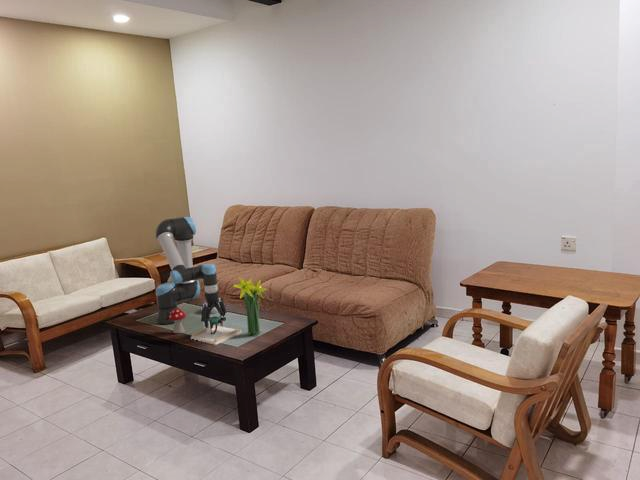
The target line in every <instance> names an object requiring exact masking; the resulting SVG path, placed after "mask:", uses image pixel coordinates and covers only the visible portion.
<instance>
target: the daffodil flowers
mask: <svg viewBox="0 0 640 480" xmlns="http://www.w3.org/2000/svg"><path fill="white" fill-rule="evenodd" d="M238 279H239V281H240V283H238V284H233V285H232V287H234V288H237V289H240V290H241V291H240V294H239V295H240V296H239V299H242V298H243V299H244V305H245V310H246V317H247V318H246V321H247V332H248V333H247V334H248V336H250V335H253V336H255V335H256V334H258V335H260V334H261V330H260V329H261V328H260V322H259V321H260V320H259V310H260V309H259V308H260V307H259V306H260V300H261V298H262V299H265V297H264V295H263V292H265V291H267V290H268V288H266V287H265V288H264V287H262V286H261V283H262V280H261V279H259V280H258V282H256V283H257V284H256V285H255V284H254V283H253V278H252V277H251V278H249V279H248V280H247V281H246V282H245V280H244V279H243V278H242V277H240V276H238ZM258 296H259V297H258Z"/></svg>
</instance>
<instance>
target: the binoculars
mask: <svg viewBox="0 0 640 480" xmlns="http://www.w3.org/2000/svg"><path fill="white" fill-rule="evenodd" d="M226 319H227V318H226V317H225V316H224V317H223V318H222V317H219V316H210V317H209V320H208V321H209V322H210V330H211V329H212V328H213V325H216V328H215V331H214V333H212V332H211V334H215V332H216V330H217V326H219V325H220V324H222V321H224V322H225V321H227V320H226Z"/></svg>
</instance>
